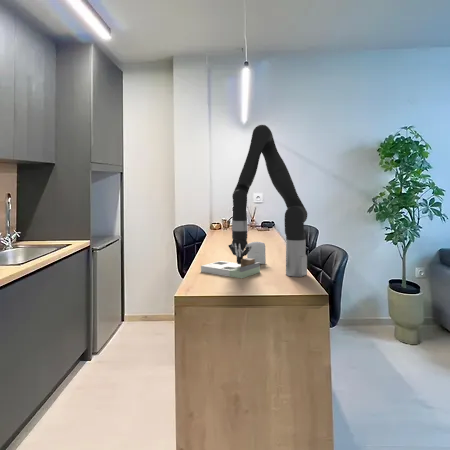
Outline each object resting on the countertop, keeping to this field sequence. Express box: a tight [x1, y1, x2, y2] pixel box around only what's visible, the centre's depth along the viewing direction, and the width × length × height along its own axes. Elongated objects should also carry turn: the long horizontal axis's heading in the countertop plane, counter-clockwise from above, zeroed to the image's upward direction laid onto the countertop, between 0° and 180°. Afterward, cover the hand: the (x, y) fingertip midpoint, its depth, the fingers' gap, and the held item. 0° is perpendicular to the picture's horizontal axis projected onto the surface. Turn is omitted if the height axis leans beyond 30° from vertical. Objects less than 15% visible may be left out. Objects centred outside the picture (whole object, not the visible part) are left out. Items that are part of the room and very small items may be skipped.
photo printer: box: [246, 241, 267, 265], centre depth 209 cm, size 10×4×12 cm, turn 96°
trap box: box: [200, 260, 261, 279], centre depth 189 cm, size 25×16×5 cm, turn 53°
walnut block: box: [241, 257, 255, 267], centre depth 186 cm, size 5×5×4 cm
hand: (239, 263), depth 189 cm, fingers closed
